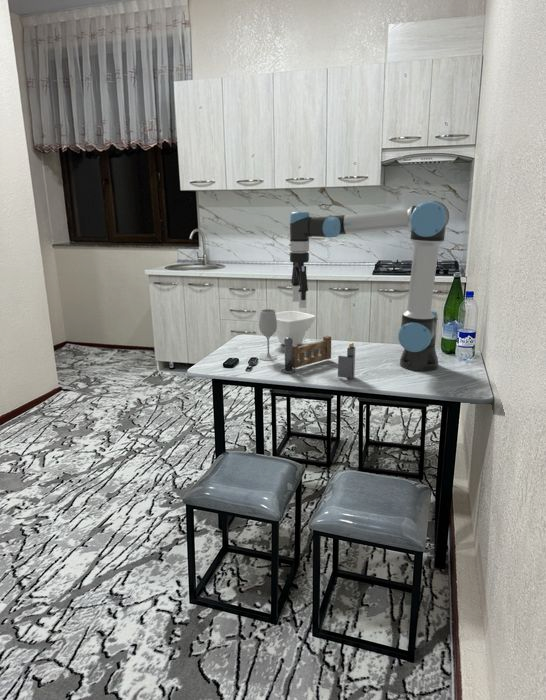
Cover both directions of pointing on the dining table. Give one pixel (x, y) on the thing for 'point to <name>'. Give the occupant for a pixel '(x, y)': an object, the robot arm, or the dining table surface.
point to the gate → (324, 352)
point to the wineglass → (268, 329)
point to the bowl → (293, 325)
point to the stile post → (347, 363)
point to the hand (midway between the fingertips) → (299, 304)
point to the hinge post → (288, 357)
